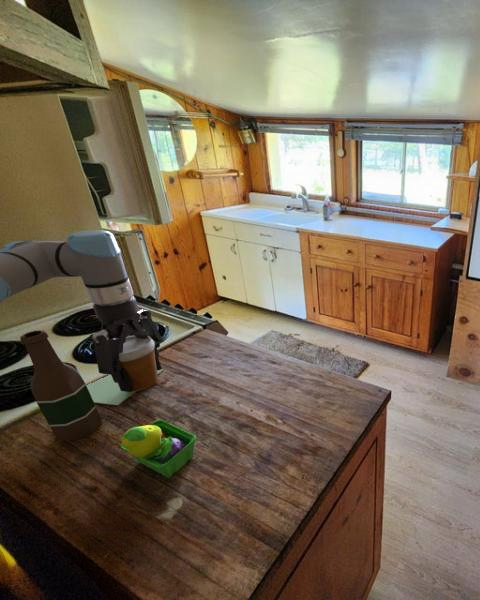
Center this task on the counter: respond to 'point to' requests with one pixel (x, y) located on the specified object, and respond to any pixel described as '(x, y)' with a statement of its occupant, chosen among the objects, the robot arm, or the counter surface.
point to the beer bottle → (60, 391)
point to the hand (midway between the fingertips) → (142, 379)
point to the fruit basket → (160, 446)
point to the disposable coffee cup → (139, 362)
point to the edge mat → (108, 391)
